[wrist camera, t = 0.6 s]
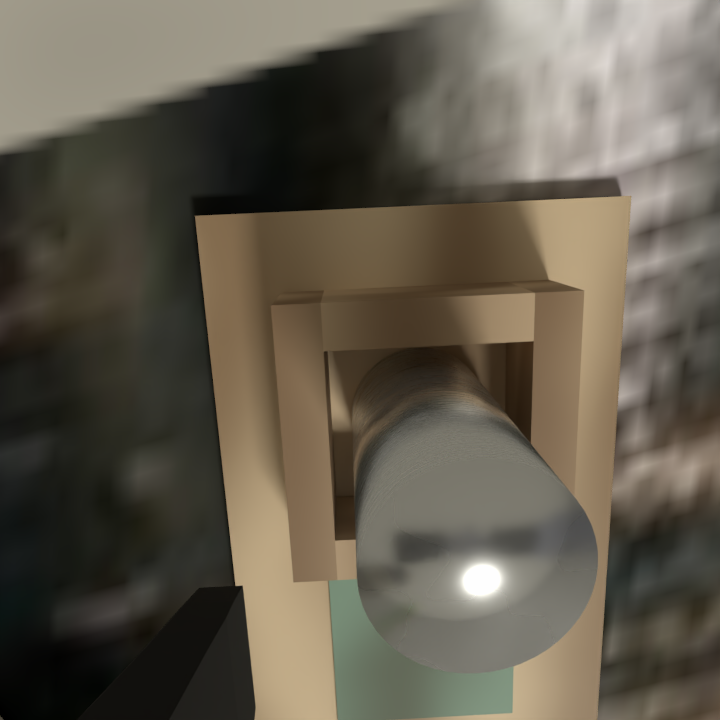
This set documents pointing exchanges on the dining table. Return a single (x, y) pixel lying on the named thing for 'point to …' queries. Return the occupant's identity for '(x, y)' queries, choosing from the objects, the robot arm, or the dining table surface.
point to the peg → (460, 521)
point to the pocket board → (334, 422)
